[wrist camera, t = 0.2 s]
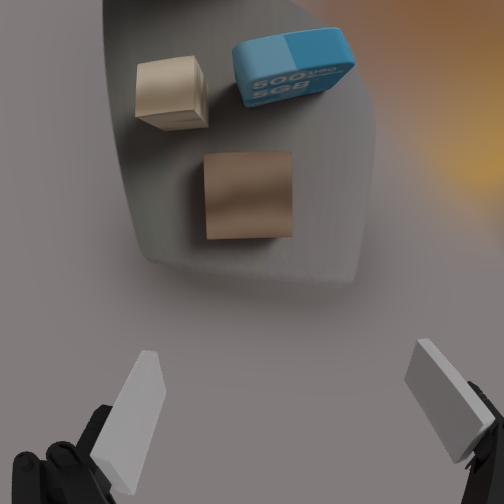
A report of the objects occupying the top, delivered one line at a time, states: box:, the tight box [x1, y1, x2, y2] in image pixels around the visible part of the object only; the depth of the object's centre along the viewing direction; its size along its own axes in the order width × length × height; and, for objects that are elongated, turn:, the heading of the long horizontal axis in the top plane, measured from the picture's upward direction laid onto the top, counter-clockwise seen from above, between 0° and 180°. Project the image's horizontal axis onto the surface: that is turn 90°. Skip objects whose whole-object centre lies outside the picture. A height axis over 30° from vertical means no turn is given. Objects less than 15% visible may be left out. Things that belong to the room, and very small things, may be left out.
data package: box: [232, 27, 355, 107], centre depth 28 cm, size 12×4×12 cm, turn 107°
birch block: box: [135, 56, 209, 131], centre depth 29 cm, size 6×6×11 cm
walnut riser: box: [204, 152, 292, 239], centre depth 35 cm, size 10×10×5 cm
